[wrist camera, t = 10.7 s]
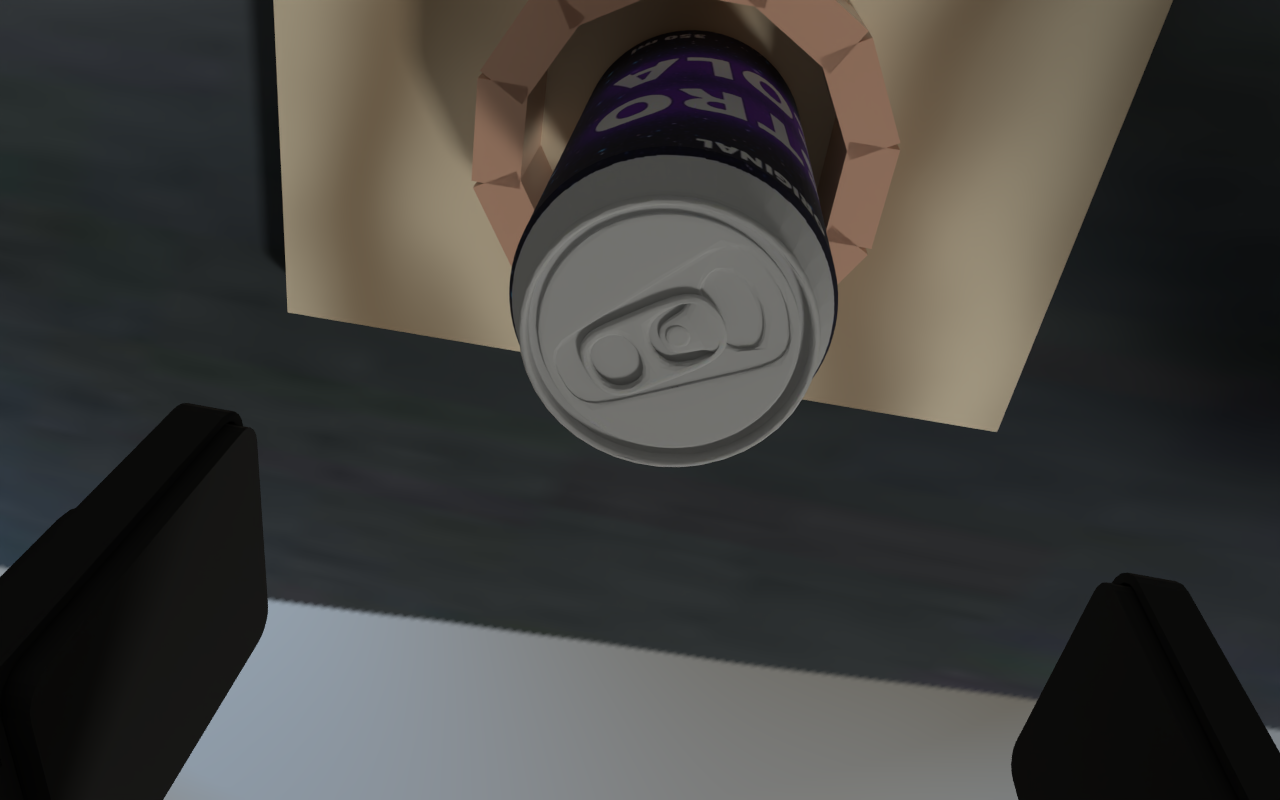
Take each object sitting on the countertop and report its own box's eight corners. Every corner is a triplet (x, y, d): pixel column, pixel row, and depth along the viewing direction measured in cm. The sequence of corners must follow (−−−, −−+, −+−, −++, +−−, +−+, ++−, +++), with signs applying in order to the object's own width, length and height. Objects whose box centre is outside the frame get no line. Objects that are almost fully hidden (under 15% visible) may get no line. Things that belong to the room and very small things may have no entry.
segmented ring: (926, -40, 23) (950, -21, 21) (824, 327, 29) (833, 378, 26) (514, -111, 23) (487, -101, 21) (487, 270, 29) (463, 316, 26)
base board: (1192, -117, 23) (1218, -113, 22) (985, 406, 31) (996, 432, 30) (286, -275, 23) (260, -280, 22) (306, 291, 31) (287, 312, 30)
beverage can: (831, 186, 26) (895, 421, 16) (643, 266, 28) (593, 526, 18) (748, -18, 24) (763, 107, 14) (548, 83, 26) (426, 262, 15)
